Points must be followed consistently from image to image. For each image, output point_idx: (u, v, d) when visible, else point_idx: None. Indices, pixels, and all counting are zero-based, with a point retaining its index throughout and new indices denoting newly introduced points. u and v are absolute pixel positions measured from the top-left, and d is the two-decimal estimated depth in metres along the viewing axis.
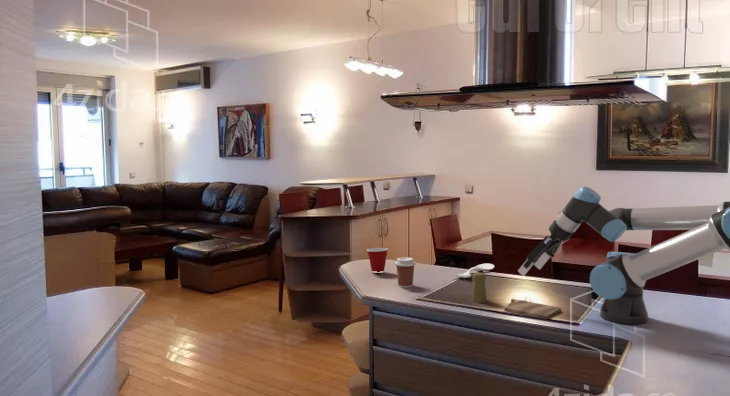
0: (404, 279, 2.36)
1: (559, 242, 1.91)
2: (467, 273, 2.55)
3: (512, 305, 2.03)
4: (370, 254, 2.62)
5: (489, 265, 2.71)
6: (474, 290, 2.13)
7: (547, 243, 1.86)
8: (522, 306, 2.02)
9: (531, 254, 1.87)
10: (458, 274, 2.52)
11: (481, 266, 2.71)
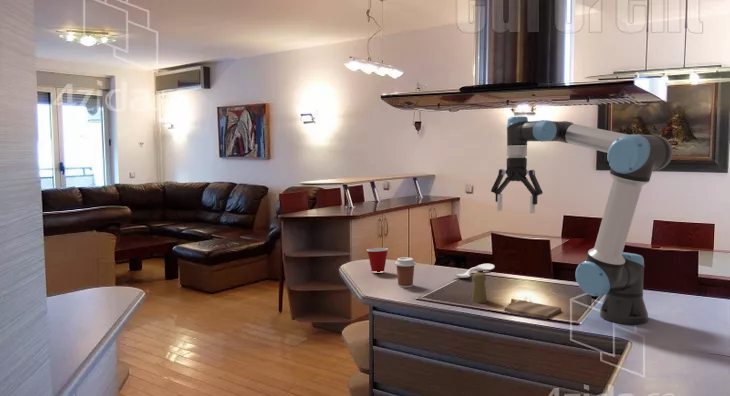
0: (404, 279, 2.36)
1: (517, 173, 2.08)
2: (467, 273, 2.54)
3: (512, 305, 2.03)
4: (370, 254, 2.62)
5: (489, 265, 2.71)
6: (474, 290, 2.13)
7: None
8: (522, 306, 2.02)
9: None
10: (458, 274, 2.52)
11: (481, 266, 2.71)
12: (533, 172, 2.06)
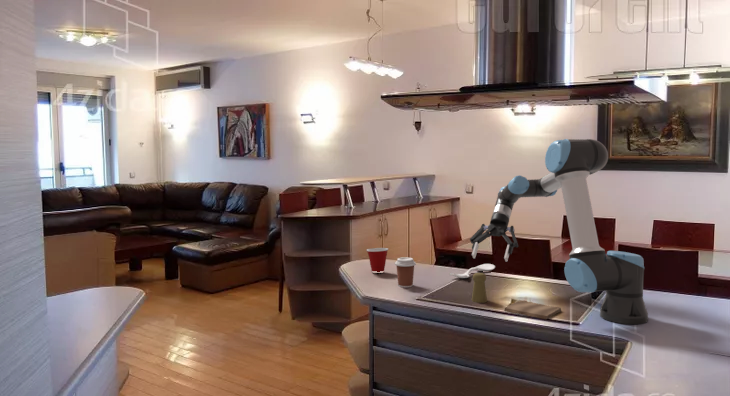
0: (404, 279, 2.36)
1: (499, 226, 2.30)
2: (466, 273, 2.54)
3: (512, 305, 2.03)
4: (370, 254, 2.62)
5: (490, 265, 2.70)
6: (474, 290, 2.13)
7: None
8: (522, 306, 2.02)
9: None
10: (457, 274, 2.52)
11: (482, 266, 2.70)
12: (513, 229, 2.28)
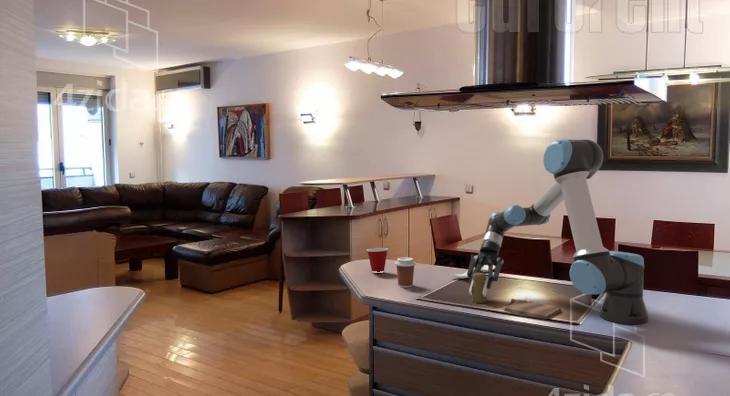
0: (404, 279, 2.36)
1: (489, 255, 2.20)
2: (466, 274, 2.54)
3: (512, 305, 2.03)
4: (370, 254, 2.62)
5: None
6: (474, 290, 2.13)
7: (471, 258, 2.23)
8: (522, 306, 2.02)
9: None
10: (456, 274, 2.52)
11: None
12: (502, 262, 2.18)
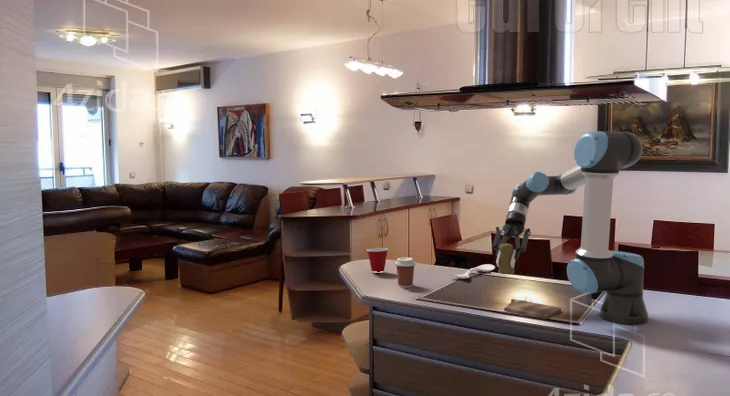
0: (404, 279, 2.36)
1: (516, 226, 2.12)
2: (466, 274, 2.53)
3: (512, 305, 2.03)
4: (370, 254, 2.62)
5: (490, 266, 2.69)
6: (501, 261, 2.05)
7: (496, 230, 2.16)
8: (522, 306, 2.02)
9: None
10: (457, 275, 2.51)
11: (482, 267, 2.69)
12: (529, 232, 2.10)
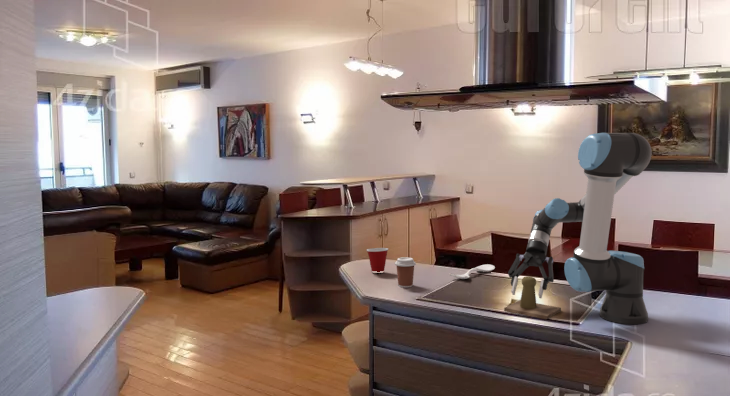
0: (404, 279, 2.36)
1: (537, 255, 2.06)
2: (466, 274, 2.53)
3: (512, 305, 2.03)
4: (370, 254, 2.62)
5: (490, 266, 2.69)
6: (523, 295, 2.00)
7: (516, 257, 2.11)
8: None
9: None
10: (457, 275, 2.51)
11: (481, 267, 2.69)
12: (552, 260, 2.04)
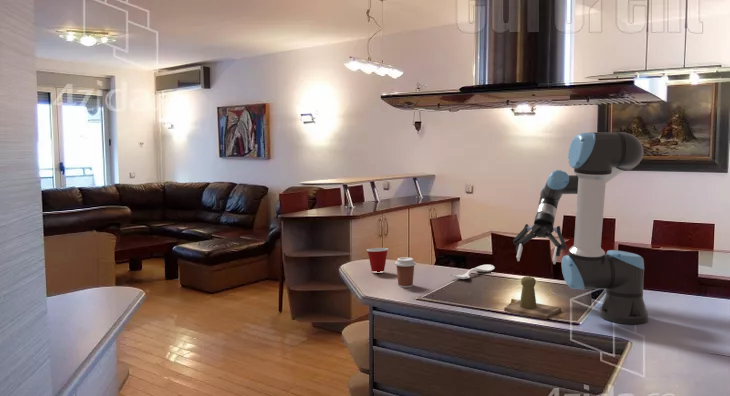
0: (404, 279, 2.36)
1: (544, 226, 2.16)
2: (466, 274, 2.52)
3: (512, 305, 2.03)
4: (370, 254, 2.62)
5: (489, 266, 2.68)
6: (523, 295, 2.00)
7: (524, 227, 2.21)
8: None
9: None
10: (457, 275, 2.50)
11: (481, 267, 2.69)
12: (560, 229, 2.15)
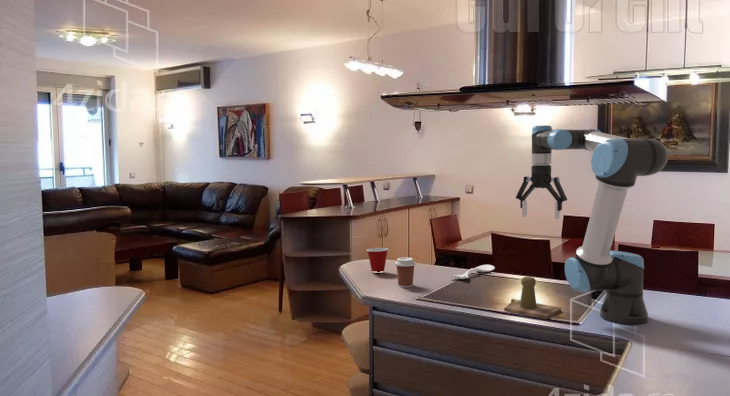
0: (404, 279, 2.36)
1: (541, 180, 2.15)
2: (465, 274, 2.52)
3: (512, 305, 2.03)
4: (370, 254, 2.62)
5: (489, 266, 2.68)
6: (523, 295, 2.00)
7: None
8: None
9: None
10: (456, 275, 2.50)
11: (481, 267, 2.69)
12: (558, 179, 2.12)
